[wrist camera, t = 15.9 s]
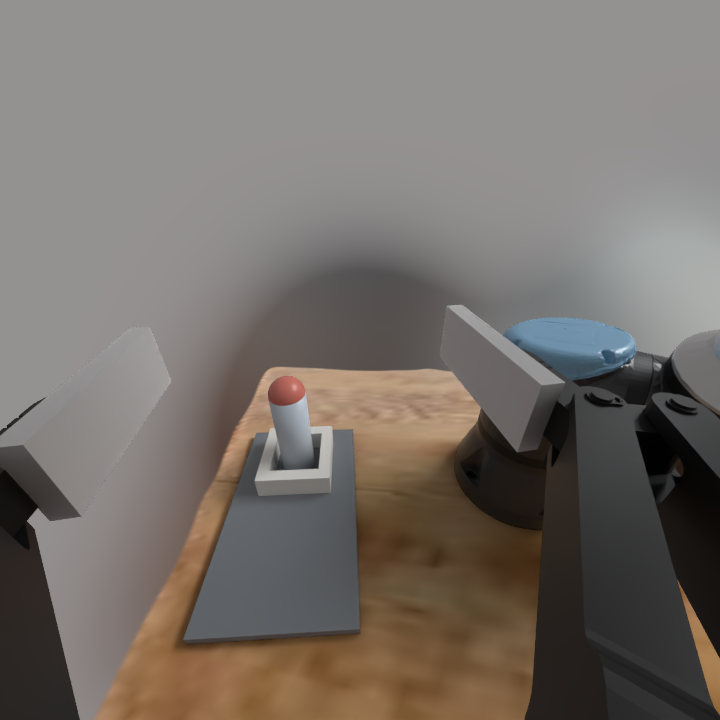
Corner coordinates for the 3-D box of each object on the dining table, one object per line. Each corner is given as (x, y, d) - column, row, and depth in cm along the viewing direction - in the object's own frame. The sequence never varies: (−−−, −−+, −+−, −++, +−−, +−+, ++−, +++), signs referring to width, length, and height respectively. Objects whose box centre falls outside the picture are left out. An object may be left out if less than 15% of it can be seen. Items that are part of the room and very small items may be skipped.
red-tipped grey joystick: (286, 454, 45) (269, 369, 37) (316, 452, 45) (305, 368, 38) (281, 479, 41) (261, 391, 34) (313, 477, 42) (301, 389, 34)
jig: (257, 437, 50) (252, 419, 48) (353, 433, 50) (352, 415, 48) (186, 644, 27) (172, 626, 25) (360, 633, 28) (359, 615, 26)
